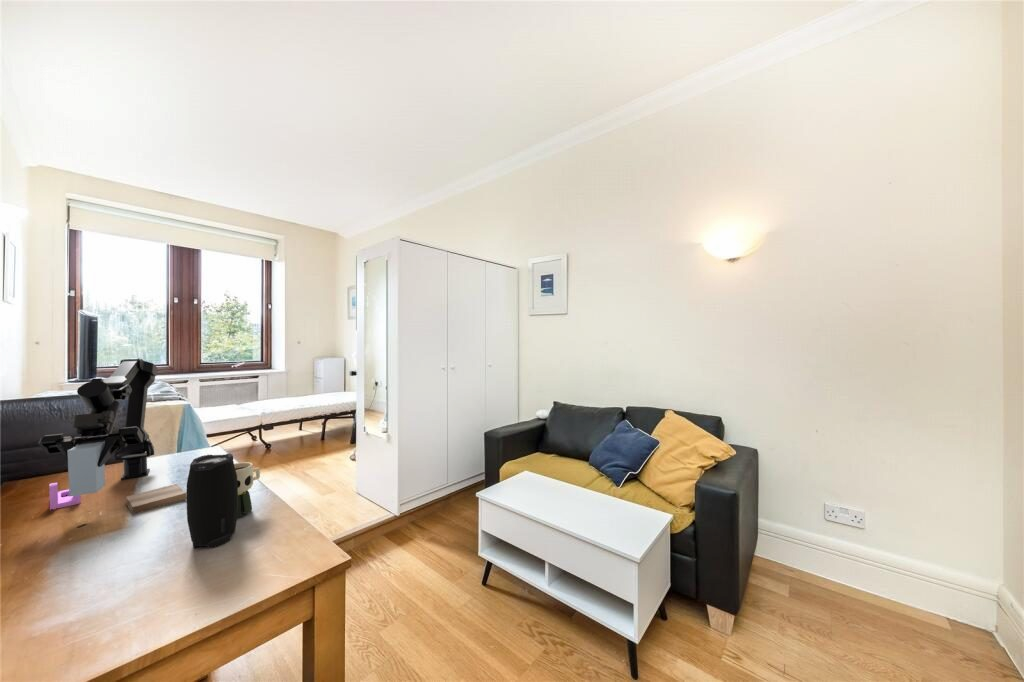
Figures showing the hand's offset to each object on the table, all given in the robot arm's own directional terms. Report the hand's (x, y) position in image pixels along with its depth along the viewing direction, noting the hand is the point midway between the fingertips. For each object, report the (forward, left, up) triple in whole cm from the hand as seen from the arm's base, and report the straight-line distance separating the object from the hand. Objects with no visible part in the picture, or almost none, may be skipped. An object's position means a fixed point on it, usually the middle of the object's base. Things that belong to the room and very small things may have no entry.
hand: (84, 468), depth 98 cm
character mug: (+23, +31, -14) cm, 41 cm away
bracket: (-21, -8, -14) cm, 26 cm away
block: (-1, 0, -7) cm, 7 cm away
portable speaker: (+35, +26, -14) cm, 46 cm away
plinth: (-2, +13, -13) cm, 19 cm away
